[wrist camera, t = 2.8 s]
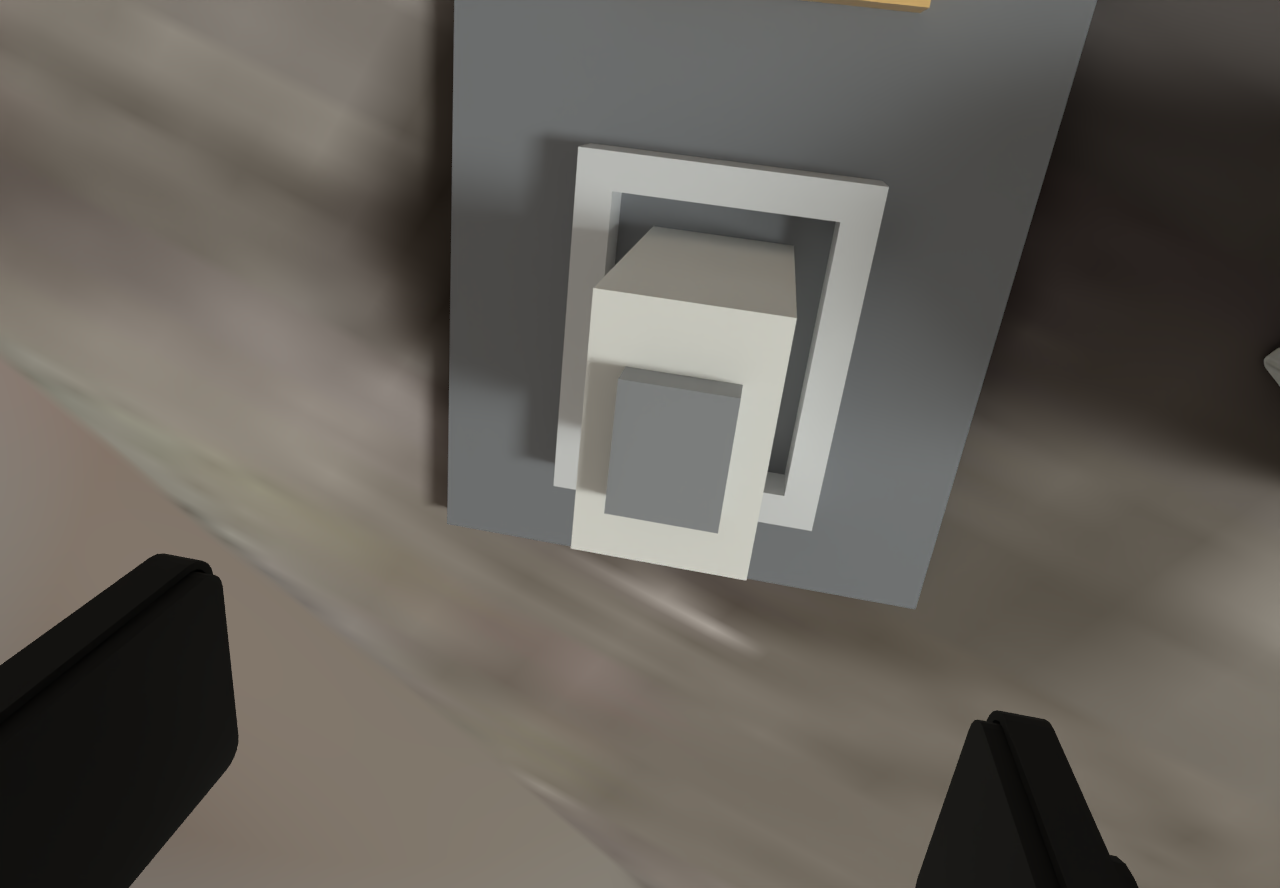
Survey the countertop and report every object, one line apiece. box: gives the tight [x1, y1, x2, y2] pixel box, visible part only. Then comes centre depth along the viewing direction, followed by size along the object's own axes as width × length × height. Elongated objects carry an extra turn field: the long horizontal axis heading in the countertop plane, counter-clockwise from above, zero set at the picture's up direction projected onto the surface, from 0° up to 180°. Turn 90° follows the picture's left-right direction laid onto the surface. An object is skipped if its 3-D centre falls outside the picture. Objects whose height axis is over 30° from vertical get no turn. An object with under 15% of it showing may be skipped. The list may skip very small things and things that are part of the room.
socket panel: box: [447, 0, 1097, 609], centre depth 21 cm, size 16×30×2 cm, turn 174°
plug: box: [571, 226, 797, 580], centre depth 20 cm, size 4×6×9 cm, turn 174°
